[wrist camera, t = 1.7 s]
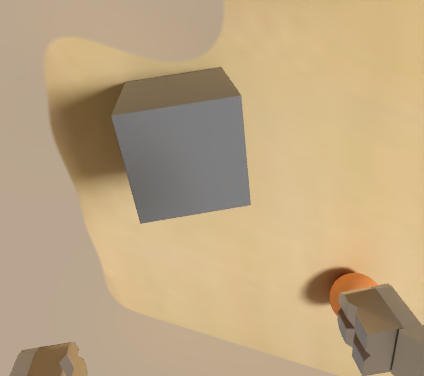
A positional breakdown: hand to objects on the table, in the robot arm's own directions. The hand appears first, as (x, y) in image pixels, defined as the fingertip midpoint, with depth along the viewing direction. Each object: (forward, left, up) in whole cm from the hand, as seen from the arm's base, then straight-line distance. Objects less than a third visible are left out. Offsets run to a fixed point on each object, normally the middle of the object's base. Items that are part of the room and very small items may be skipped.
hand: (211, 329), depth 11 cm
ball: (+20, +14, -17) cm, 29 cm away
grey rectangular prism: (0, 0, -19) cm, 19 cm away
